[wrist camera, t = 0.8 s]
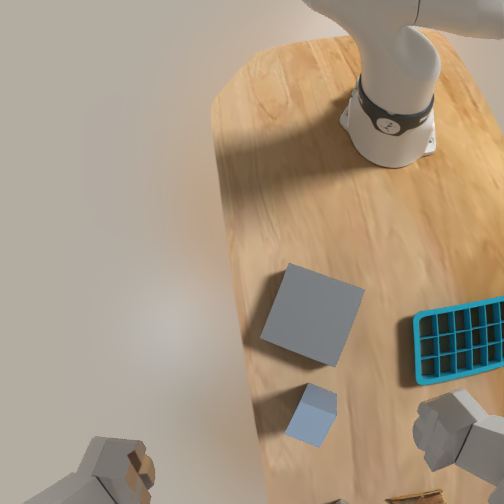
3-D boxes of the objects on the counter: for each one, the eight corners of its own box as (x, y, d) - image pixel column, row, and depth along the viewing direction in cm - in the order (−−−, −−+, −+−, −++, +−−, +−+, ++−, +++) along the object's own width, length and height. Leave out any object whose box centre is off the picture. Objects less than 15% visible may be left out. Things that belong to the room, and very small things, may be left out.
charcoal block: (293, 267, 53) (288, 262, 48) (362, 292, 49) (365, 289, 44) (266, 336, 51) (259, 338, 47) (335, 362, 48) (335, 367, 43)
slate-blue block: (308, 382, 48) (300, 401, 37) (336, 393, 46) (336, 415, 35) (295, 409, 47) (284, 433, 36) (323, 420, 46) (319, 447, 35)
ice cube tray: (511, 359, 39) (519, 361, 36) (411, 383, 44) (415, 386, 41) (508, 294, 42) (516, 292, 39) (408, 313, 46) (412, 312, 44)
